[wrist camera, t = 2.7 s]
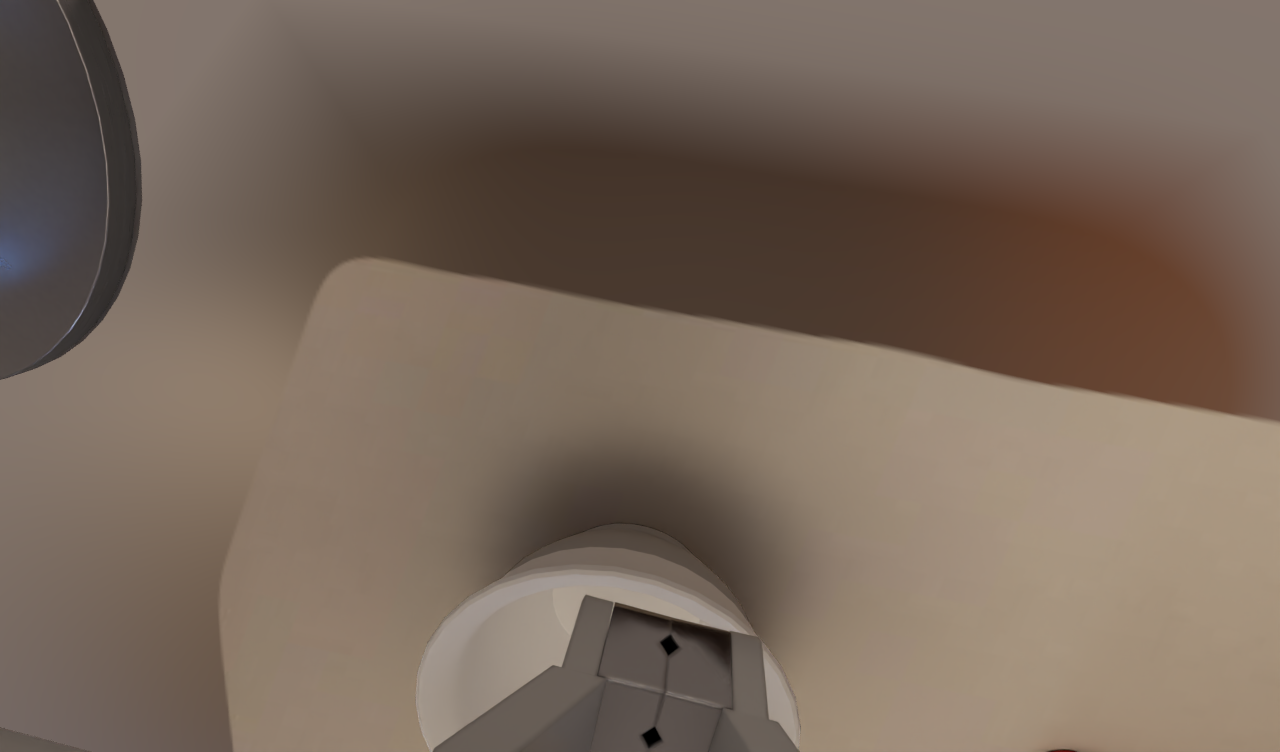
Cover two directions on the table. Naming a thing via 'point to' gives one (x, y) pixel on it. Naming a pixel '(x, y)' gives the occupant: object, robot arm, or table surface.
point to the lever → (1063, 751)
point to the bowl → (571, 621)
